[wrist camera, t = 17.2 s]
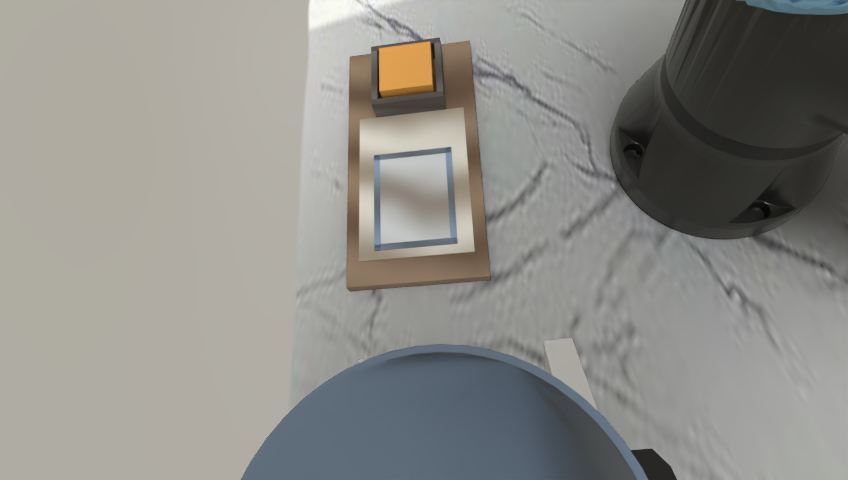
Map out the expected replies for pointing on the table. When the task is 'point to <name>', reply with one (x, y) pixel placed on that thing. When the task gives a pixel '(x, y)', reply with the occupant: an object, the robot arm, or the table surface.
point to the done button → (406, 70)
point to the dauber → (444, 424)
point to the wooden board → (415, 178)
